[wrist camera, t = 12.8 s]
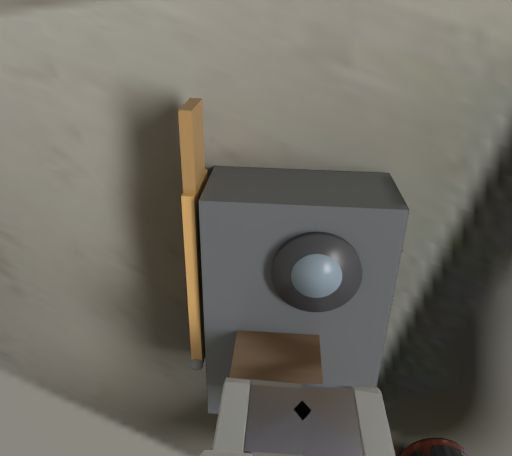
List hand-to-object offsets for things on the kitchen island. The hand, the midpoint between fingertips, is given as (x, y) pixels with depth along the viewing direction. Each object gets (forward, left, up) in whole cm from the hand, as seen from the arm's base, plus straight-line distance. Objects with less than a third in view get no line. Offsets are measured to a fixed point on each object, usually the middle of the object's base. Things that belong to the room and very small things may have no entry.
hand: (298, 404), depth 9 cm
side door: (-6, +6, -20) cm, 22 cm away
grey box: (-11, -1, -21) cm, 23 cm away
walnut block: (-14, 0, -15) cm, 20 cm away
